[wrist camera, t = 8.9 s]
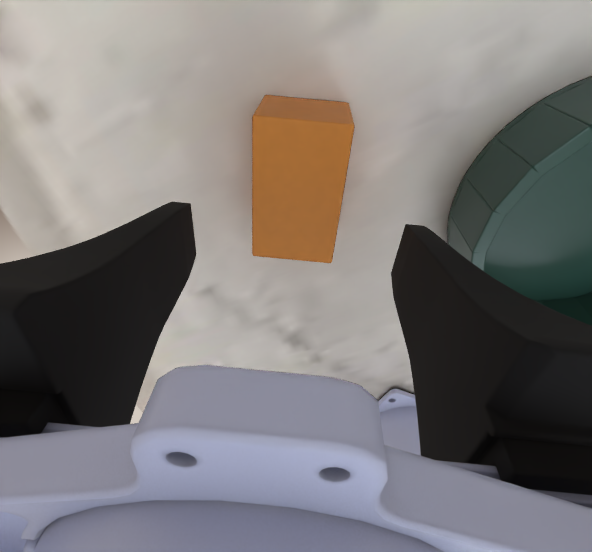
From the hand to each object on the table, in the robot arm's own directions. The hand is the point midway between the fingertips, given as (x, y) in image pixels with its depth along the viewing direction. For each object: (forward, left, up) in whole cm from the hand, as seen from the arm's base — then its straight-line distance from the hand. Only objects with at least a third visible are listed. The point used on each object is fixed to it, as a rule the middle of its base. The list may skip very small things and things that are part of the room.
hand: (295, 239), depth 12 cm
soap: (0, 0, -6) cm, 6 cm away
